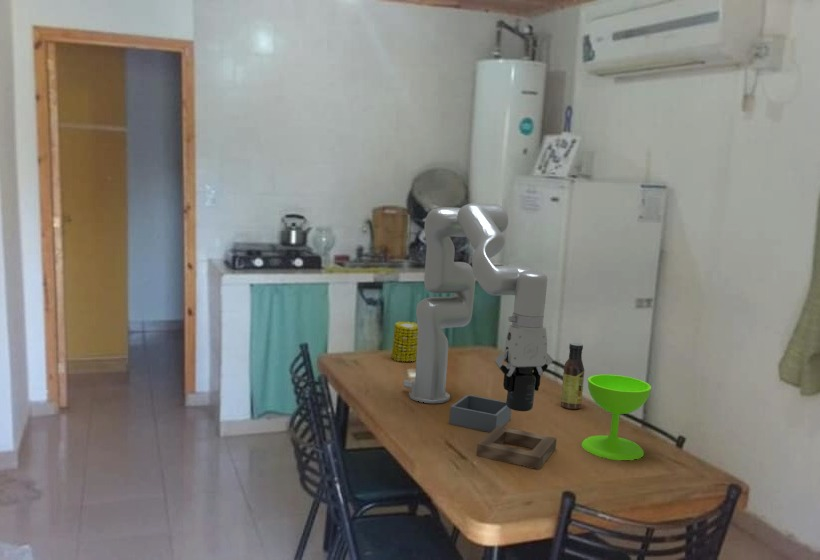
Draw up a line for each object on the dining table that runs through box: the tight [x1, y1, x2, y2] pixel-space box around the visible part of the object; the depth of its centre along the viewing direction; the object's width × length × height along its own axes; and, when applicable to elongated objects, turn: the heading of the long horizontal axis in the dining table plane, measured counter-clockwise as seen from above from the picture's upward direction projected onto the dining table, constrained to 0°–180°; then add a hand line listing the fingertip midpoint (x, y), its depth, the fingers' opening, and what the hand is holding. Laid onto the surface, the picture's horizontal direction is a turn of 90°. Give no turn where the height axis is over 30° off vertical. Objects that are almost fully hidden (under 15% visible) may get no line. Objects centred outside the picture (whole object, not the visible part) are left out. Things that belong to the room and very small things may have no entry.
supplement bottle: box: [505, 367, 536, 412], centre depth 190 cm, size 7×7×12 cm
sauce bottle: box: [560, 342, 585, 410], centre depth 231 cm, size 7×6×20 cm
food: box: [391, 321, 418, 363], centre depth 276 cm, size 15×12×10 cm
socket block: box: [476, 426, 557, 470], centre depth 192 cm, size 16×16×3 cm
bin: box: [448, 394, 512, 433], centre depth 213 cm, size 14×14×5 cm
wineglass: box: [581, 374, 652, 461], centre depth 197 cm, size 16×16×18 cm
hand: (521, 389), depth 190 cm, fingers closed on supplement bottle, 6 cm apart
